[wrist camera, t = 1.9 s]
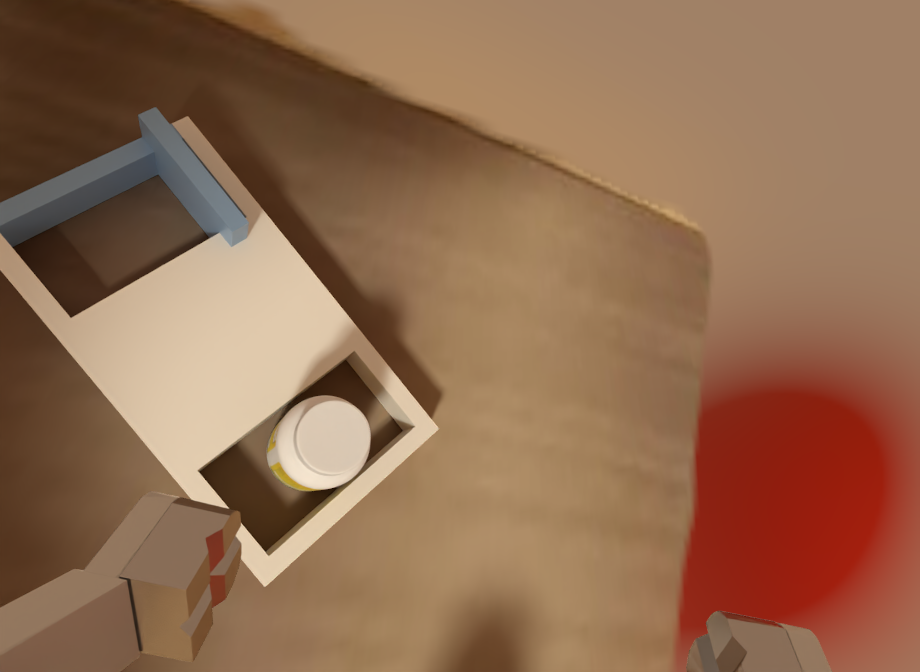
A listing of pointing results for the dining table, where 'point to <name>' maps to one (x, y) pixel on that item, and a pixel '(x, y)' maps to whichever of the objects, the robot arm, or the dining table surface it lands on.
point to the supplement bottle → (319, 444)
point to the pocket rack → (208, 325)
